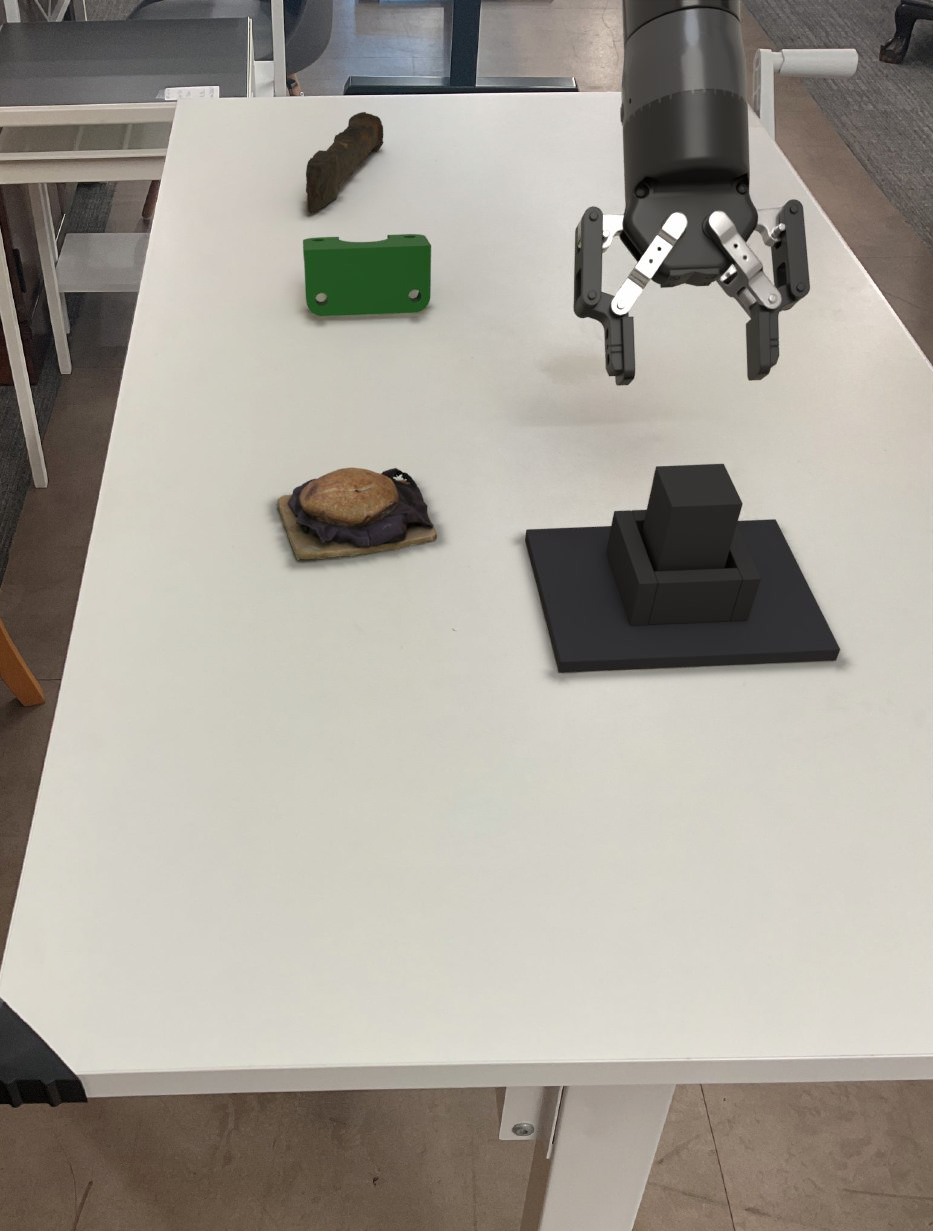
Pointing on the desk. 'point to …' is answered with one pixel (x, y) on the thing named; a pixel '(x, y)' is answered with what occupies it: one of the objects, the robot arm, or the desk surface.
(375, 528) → the bread roll
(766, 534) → the base pad
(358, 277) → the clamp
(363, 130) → the dark brown lumpy bar
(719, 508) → the rectangular block
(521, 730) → the desk surface
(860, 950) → the desk surface
